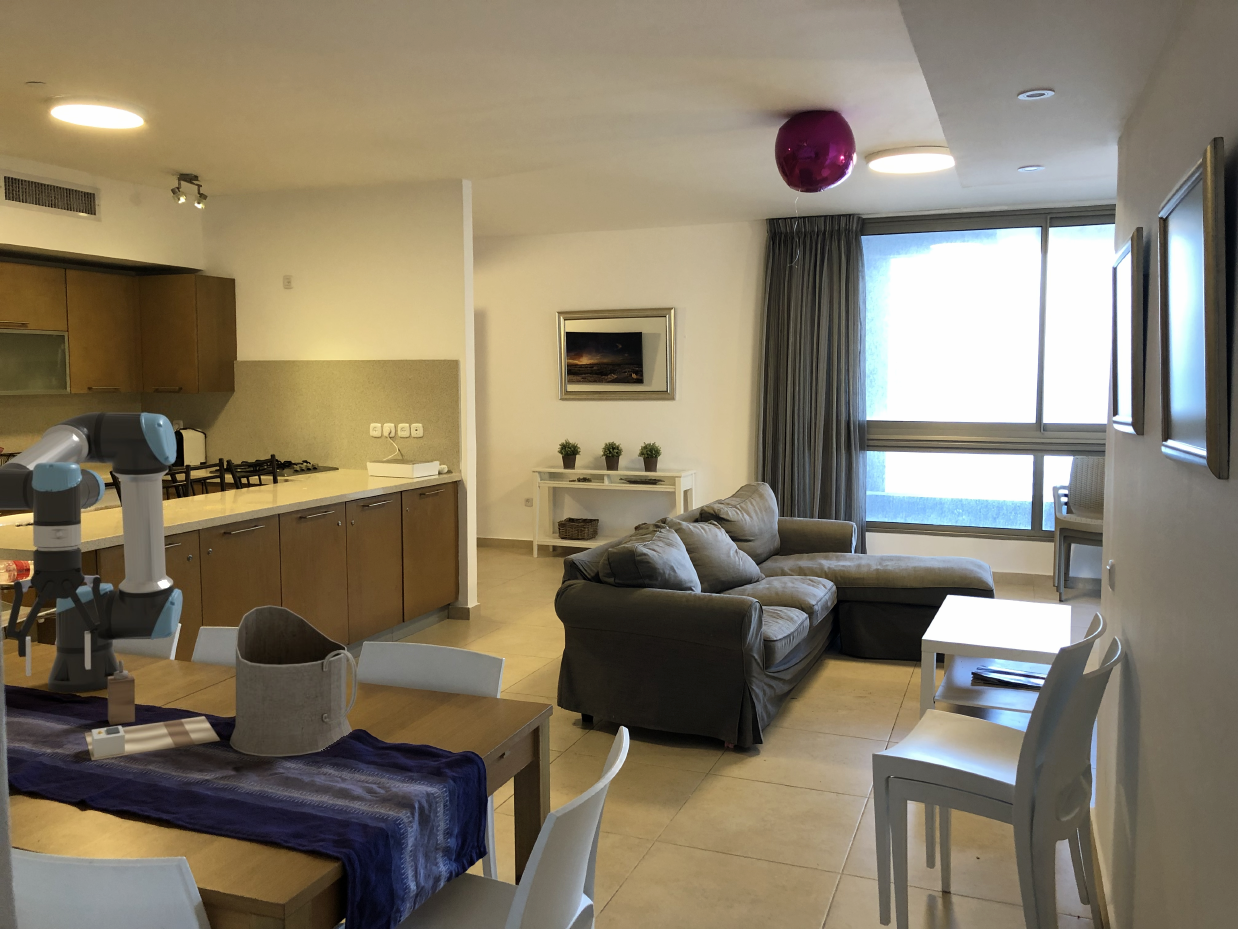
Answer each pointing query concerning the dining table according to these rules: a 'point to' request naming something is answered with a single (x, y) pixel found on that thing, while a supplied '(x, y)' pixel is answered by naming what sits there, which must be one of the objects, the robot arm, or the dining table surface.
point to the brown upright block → (121, 697)
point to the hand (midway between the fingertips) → (58, 670)
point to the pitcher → (288, 685)
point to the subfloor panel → (163, 736)
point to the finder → (108, 741)
